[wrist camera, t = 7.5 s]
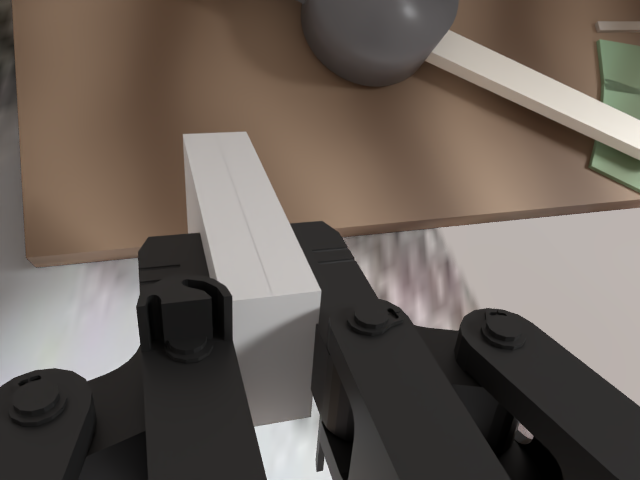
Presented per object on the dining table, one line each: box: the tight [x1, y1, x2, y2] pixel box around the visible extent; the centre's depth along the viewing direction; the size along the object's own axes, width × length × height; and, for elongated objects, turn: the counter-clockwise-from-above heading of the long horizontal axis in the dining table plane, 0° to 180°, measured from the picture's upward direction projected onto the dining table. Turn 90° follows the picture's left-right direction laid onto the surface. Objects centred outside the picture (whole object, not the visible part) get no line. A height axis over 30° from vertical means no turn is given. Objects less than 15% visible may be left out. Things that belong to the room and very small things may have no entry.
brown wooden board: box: [12, 0, 640, 268], centre depth 24 cm, size 26×17×2 cm, turn 99°
